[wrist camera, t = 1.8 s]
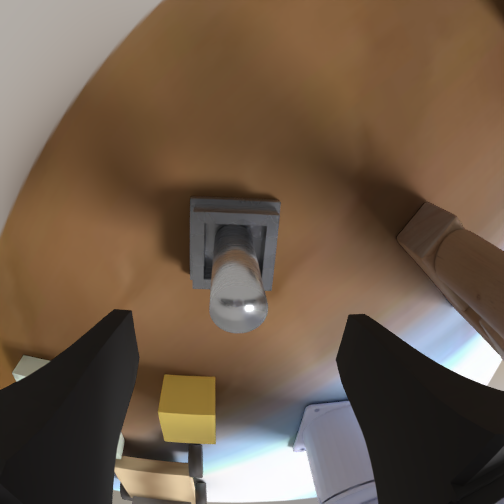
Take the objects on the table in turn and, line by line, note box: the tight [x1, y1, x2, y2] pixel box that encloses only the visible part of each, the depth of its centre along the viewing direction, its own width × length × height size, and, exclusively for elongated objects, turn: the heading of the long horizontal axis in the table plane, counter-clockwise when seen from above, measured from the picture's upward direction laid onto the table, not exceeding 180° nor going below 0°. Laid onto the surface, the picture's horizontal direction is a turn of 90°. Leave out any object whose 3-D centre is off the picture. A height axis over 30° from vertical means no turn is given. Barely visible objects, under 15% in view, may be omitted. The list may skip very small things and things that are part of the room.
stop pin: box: [209, 224, 268, 333], centre depth 15 cm, size 2×2×7 cm
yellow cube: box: [158, 374, 216, 444], centre depth 22 cm, size 4×4×4 cm
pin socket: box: [190, 196, 281, 291], centre depth 18 cm, size 5×5×2 cm
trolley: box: [114, 445, 207, 504], centre depth 25 cm, size 10×14×6 cm
